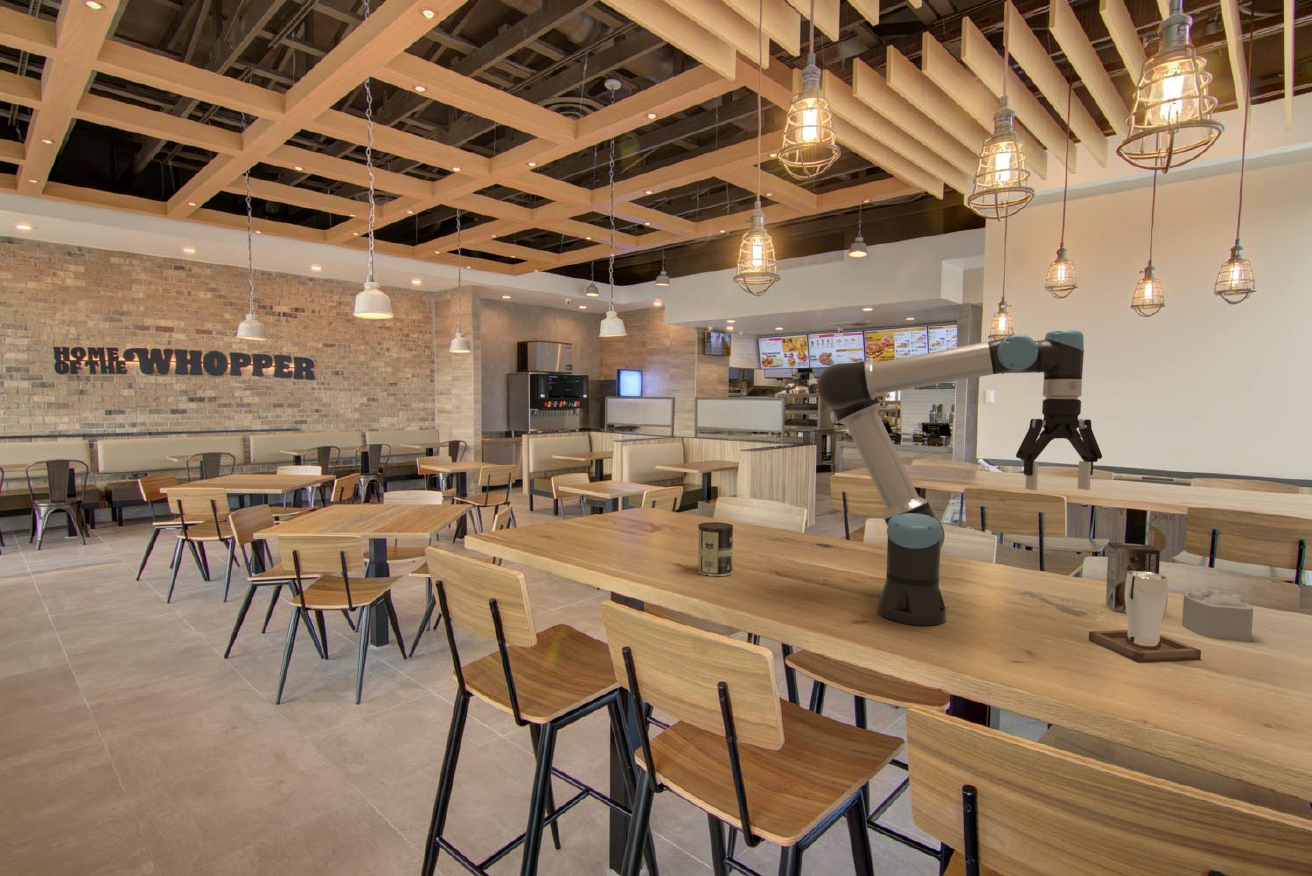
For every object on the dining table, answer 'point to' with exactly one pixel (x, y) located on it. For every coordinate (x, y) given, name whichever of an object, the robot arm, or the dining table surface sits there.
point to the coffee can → (715, 548)
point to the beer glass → (1145, 609)
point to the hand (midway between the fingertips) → (1057, 489)
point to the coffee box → (1127, 569)
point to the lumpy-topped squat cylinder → (1217, 615)
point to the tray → (1169, 651)
